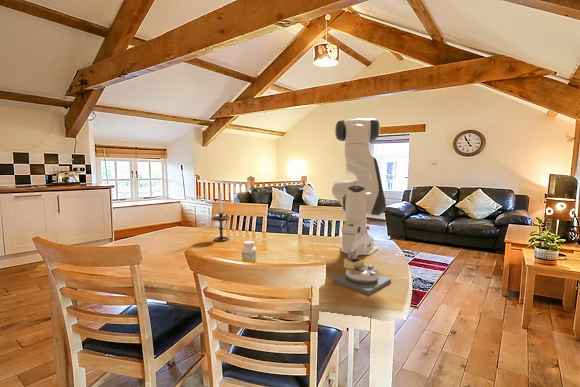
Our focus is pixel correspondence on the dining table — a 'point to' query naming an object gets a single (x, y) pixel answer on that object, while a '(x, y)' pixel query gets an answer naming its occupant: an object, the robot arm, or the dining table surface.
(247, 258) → the supplement bottle
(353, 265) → the grey round chuck
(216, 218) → the candlestick
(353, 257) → the steel pin
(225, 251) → the dining table surface
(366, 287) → the base
